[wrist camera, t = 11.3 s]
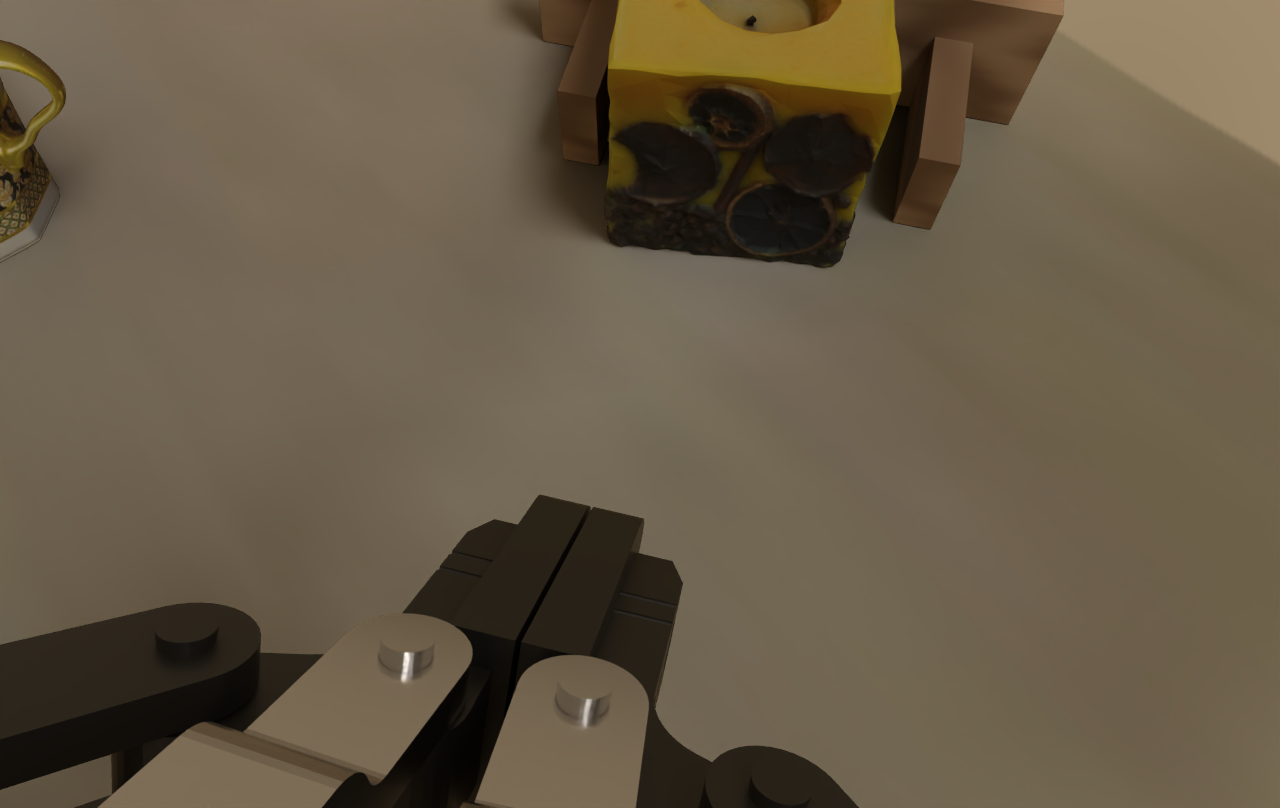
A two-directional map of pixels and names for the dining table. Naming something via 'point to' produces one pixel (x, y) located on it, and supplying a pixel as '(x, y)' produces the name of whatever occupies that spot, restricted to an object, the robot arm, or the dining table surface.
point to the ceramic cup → (25, 157)
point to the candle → (747, 123)
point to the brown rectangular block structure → (930, 79)
